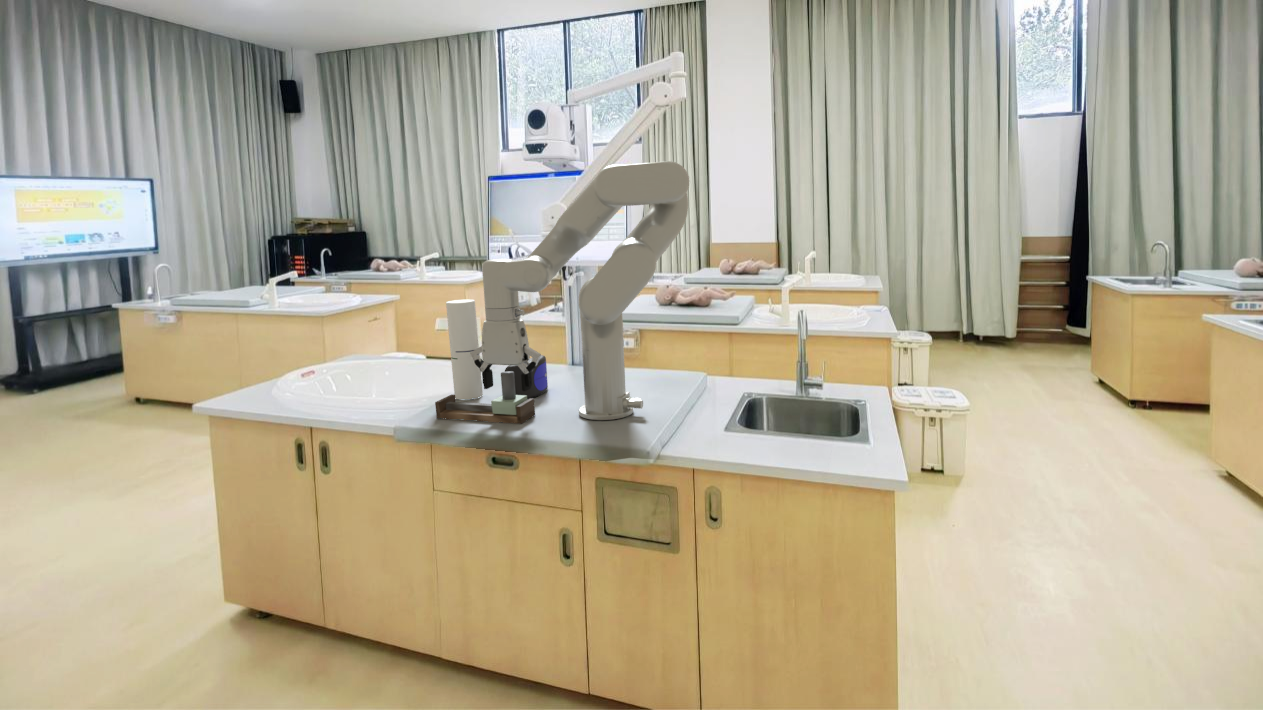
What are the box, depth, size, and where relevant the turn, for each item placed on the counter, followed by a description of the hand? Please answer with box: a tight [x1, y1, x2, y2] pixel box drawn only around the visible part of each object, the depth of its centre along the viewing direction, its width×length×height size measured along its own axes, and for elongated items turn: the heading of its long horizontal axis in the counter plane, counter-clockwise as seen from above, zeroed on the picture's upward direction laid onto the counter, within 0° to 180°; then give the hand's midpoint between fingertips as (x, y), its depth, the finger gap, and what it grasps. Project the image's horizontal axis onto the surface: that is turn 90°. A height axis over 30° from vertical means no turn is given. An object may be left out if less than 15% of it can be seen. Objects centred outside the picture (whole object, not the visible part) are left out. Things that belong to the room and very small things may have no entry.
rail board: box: [434, 394, 536, 425], centre depth 170 cm, size 22×7×4 cm, turn 72°
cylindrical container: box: [445, 299, 484, 399], centre depth 187 cm, size 7×7×25 cm
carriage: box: [490, 371, 527, 415], centre depth 167 cm, size 6×6×9 cm
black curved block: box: [504, 354, 549, 399], centre depth 187 cm, size 16×5×9 cm, turn 151°
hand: (507, 388), depth 166 cm, fingers open, 9 cm apart
